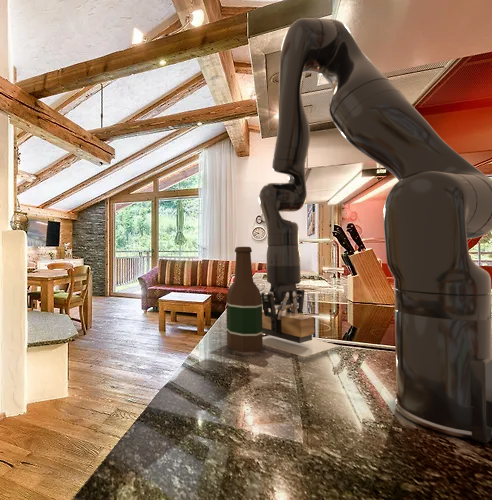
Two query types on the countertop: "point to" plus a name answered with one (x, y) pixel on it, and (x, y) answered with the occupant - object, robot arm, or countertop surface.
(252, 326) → the beer bottle
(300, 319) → the scrub brush
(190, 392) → the countertop surface
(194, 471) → the countertop surface
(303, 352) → the white tile
